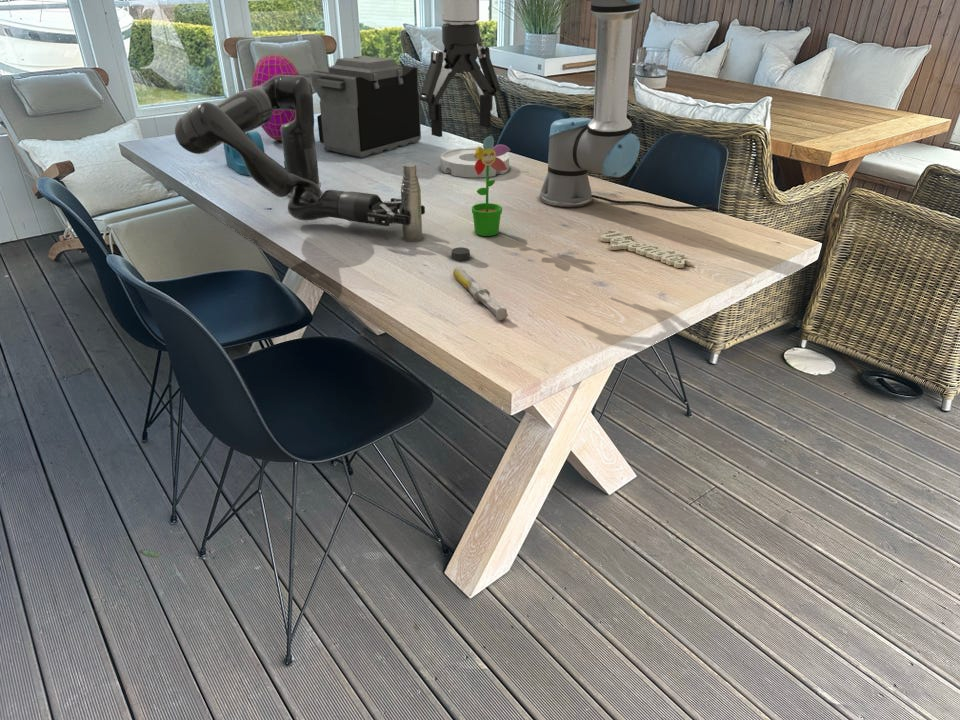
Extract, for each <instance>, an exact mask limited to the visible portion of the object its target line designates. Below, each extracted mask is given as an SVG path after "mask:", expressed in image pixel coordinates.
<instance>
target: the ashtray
mask: <svg viewBox="0 0 960 720" xmlns="http://www.w3.org/2000/svg"><path fill="white" fill-rule="evenodd" d="M482 148H483V147H482ZM476 149H477V147H463V148H454V149H449V150H446V151H444V152H442V153H441V154H440V155H439V156H440V157H439V159H440V170H441V172H443V173H446V174H451V175H452V176H454V177H461V178H486V166H485V168H484V170H483V171H482V173H481V174H479V175H478V174H477V172H476V170H475V163H476V162H477V160H479V159H477V158H475V157H474V154H475V151H476ZM483 149H484V148H483ZM498 158H499V159H501V160H502V161H503V162H504V164H505V165H506V167H507V170H503V171H498V170H495V169H494V168H492V167H491V165H489V178H490V177H496V175H503V174H505V173H507V172H509V169H510V156H509V154H508V153H505V154H503V155H501V156H498Z"/></svg>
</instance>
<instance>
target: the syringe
mask: <svg viewBox="0 0 960 720" xmlns="http://www.w3.org/2000/svg"><path fill="white" fill-rule="evenodd" d="M452 274H453V277H454V279H455V280H457V281H458V282H459V283H460V285H462V287H464V289H466V290H467V291H468V293H470V295H471V296H472V298H473V300H474V302H477V303H478V302H480V303H482V304H483V305H484V306H485V307H486V308H487V309H488V310H489V311H490V312H491V313H492V314H493V315H494V316H495V317H496V320H497V321H503V320H504V319H506V318H507V317H509V314H508V310H507V308H506V307H502V306H501V305H500V303H498V302H497V301H496V300H494V299H493V298H492V297H491V296H490V295H491V293H490V290H488V289H486V288H483V287H482V286H481V285H480V284H479V283H478V282H477V281H476V280H474V278H473V277H471V275H469V274H468V273H467V272H466V270H465V269H464V268H463V267H462V266H456V267H454V268H453V271H452Z"/></svg>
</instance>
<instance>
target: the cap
mask: <svg viewBox="0 0 960 720" xmlns="http://www.w3.org/2000/svg"><path fill="white" fill-rule="evenodd" d="M451 259H452V260H453V261H455V262H457V261H458V262H464V261H468V260H470V259H471V250H470V249H469V248H467V247H463V246H461V247H454V248H452V249H451Z"/></svg>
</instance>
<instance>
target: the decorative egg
mask: <svg viewBox="0 0 960 720" xmlns="http://www.w3.org/2000/svg"><path fill="white" fill-rule="evenodd" d="M253 70H254V71H253V73H252V77H251V88H253V87H256V86H260V85H262V84H263V83H265V82H266V81H268V80H269V79H271V78H273V77H275V76H277V75H295V76H301V75H300V73H299V71H298V69H297V67H296V66H295V65H294V63H293V62H292V61H291V60H290V59H288V58H287V57H285V56H282V55H280V54H268V55H265V56H262V57H261V58H260V59H259V60H258V61H257V62H256V65H255V68H254V69H253ZM294 119H295V111H291V110H274V111H273V113H272V116H271V118H270V120H269V121H268V122H267V123H266V124H264V125H262V126H260V128H262V130H263V131H264V133H266V135H267V136H268V137H270V138H271V139H273V140H275V141H281V142H282V137H281V129H280V128H281V126H282V125H283V124H285V123H288V122H291V121H293V120H294Z"/></svg>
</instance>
